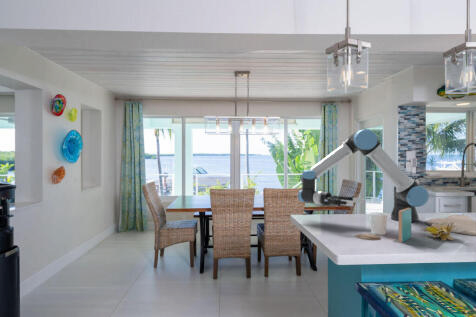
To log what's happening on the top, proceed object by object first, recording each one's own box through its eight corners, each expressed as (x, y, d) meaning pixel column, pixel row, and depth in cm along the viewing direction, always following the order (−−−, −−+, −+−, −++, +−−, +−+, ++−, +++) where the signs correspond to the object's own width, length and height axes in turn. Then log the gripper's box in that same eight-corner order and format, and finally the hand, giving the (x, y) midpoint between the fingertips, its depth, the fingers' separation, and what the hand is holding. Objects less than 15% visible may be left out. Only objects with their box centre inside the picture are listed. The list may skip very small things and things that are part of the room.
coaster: (362, 233, 158) (362, 232, 157) (384, 237, 150) (384, 236, 150) (351, 237, 150) (351, 236, 150) (375, 242, 142) (375, 241, 142)
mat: (404, 236, 153) (404, 235, 153) (445, 242, 141) (445, 241, 141) (392, 242, 142) (392, 241, 142) (435, 250, 130) (435, 249, 130)
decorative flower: (415, 230, 158) (421, 211, 157) (438, 235, 157) (444, 216, 155) (429, 240, 143) (436, 219, 142) (455, 246, 142) (462, 225, 141)
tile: (407, 237, 149) (407, 207, 149) (411, 237, 148) (411, 208, 148) (398, 242, 141) (398, 210, 141) (402, 242, 140) (402, 211, 140)
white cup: (377, 236, 153) (377, 215, 153) (366, 232, 161) (366, 212, 161) (390, 234, 155) (390, 214, 155) (379, 231, 163) (379, 212, 163)
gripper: (333, 202, 189) (369, 207, 174) (310, 207, 172) (347, 212, 156) (334, 190, 189) (369, 193, 174) (311, 193, 172) (347, 197, 156)
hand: (359, 202), depth 165 cm, fingers open, 13 cm apart
